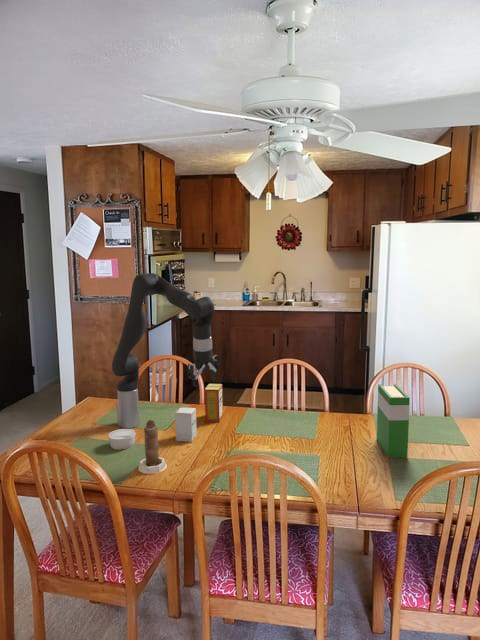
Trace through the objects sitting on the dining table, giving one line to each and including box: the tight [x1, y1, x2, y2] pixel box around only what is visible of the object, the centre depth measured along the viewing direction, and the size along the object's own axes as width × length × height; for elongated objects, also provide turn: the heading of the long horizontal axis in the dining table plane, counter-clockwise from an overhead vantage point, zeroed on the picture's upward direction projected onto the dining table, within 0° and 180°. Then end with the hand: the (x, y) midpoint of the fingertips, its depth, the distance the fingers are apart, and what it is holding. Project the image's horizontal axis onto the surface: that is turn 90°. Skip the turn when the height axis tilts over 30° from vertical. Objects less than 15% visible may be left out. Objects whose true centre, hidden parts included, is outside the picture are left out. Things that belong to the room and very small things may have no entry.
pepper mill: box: [143, 419, 160, 467], centre depth 184 cm, size 5×5×18 cm
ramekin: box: [107, 428, 137, 451], centre depth 208 cm, size 11×11×5 cm
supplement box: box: [174, 407, 198, 443], centre depth 214 cm, size 7×7×13 cm
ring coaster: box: [138, 456, 168, 475], centre depth 185 cm, size 10×10×3 cm
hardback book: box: [376, 383, 411, 458], centre depth 199 cm, size 18×7×24 cm, turn 179°
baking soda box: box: [204, 383, 224, 423], centre depth 237 cm, size 10×6×16 cm
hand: (204, 382), depth 202 cm, fingers open, 8 cm apart
